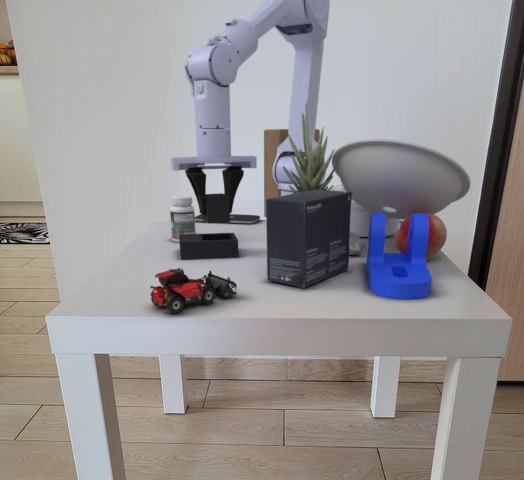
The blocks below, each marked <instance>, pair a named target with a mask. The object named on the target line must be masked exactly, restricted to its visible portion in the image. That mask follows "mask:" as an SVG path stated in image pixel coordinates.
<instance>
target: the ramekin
mask: <svg viewBox="0 0 524 480" xmlns="http://www.w3.org/2000/svg"><path fill="white" fill-rule="evenodd" d="M370 215H371V211H369V210H366V209H365V208H363V207H361V206H360V205H358V204H357V203H356V202H355V201H354V200H353V199H352V198H351V214H350V233H354V234H355V235H357V236H359V237H360V238H361V237H363V238H368V236H369V224H370ZM399 224H400V220H399V219H395V218H390V217H386V230H385V238H386V237H390V236H393V235H394V234H395V233H396V232H397V231H398V228H399Z"/></svg>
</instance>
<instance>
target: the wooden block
mask: <svg viewBox="0 0 524 480" xmlns="http://www.w3.org/2000/svg"><path fill="white" fill-rule="evenodd" d="M320 134H321V131H320V129H319V128H315V136H314V140H315V141H316V142H317V143H318V141H319V137H320ZM287 137H288V128H275V129H274V128H273V129H271V128H270V129H264V131H263V198H264V199H263V210H264V211H263V215H264V218H266V219H267V217H266V199H269V198H275V197H280V196H281V190H282V189H278V184H276V182H275V180H274V178H273V172H272V170H273V164H274V161H275V159H276V155H277V148H278V147H279V146H280V145H281V144H282V143H283V142H284V141H285V140H286V139H287ZM302 154H303V153H302ZM303 156H305V154H303Z"/></svg>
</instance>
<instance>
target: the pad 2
mask: <svg viewBox="0 0 524 480" xmlns="http://www.w3.org/2000/svg"><path fill="white" fill-rule="evenodd" d="M178 243H179V254H180V255H179V256H180V260H199V259H201V260H202V259H225V258H239V257H240V256H239V239H238V238H237V236H236V234H235V233H234V232H214V233H212V232H211V233H196V234H179V242H178Z"/></svg>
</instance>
